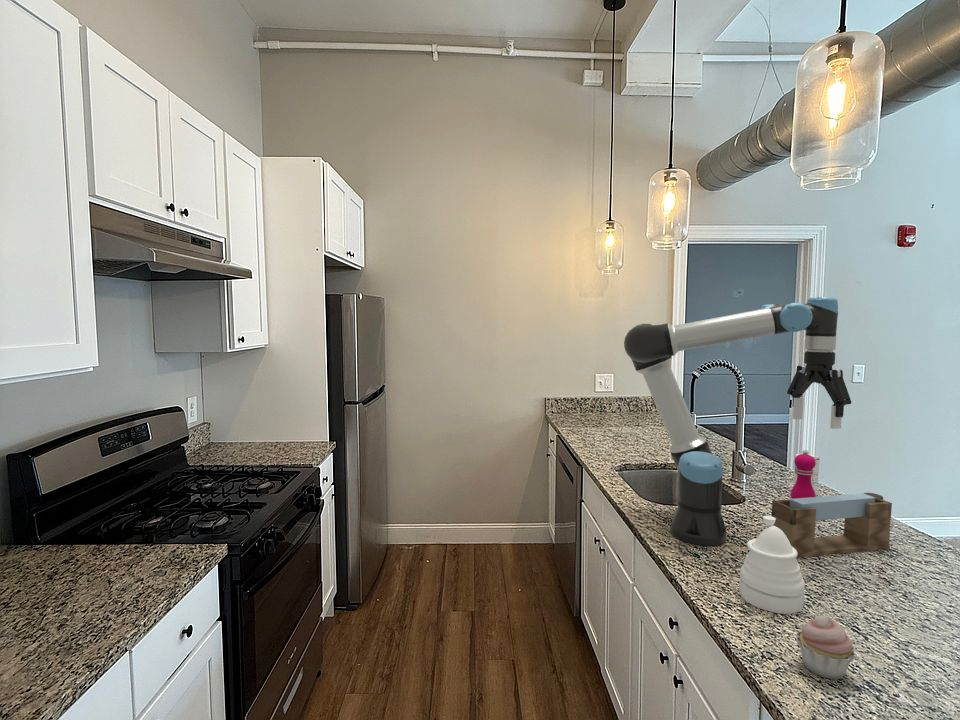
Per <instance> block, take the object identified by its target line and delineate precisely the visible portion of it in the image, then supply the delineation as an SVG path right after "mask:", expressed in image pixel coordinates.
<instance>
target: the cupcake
mask: <svg viewBox="0 0 960 720" xmlns="http://www.w3.org/2000/svg"><path fill="white" fill-rule="evenodd" d="M796 636H797V637H795V640H796V642H797V645H798V647H799V649H800V653H801V658H802V662H803V665H804V666H805V667H806V669H808V671H810V672H812V673H813V674H815V675H817V676H819V677H822V678H825V679H829V680H840V679H843V677H844V676H845V675H846V672H847V670H848V668H849V666H850V664H851V662H852V661H853V660H854V659H855V658H856V657H857V654H856V653H855V651H856V647H855V646H853V641H852V640H851V638H850V637H849V636H848V634H847V632H846V630H845V629H844V628H843V627H842V626H841V624H839V623H837V622H836V621H835V620H834V619H832V618H831V617H830V616H829V615H819V616H816V617H814V618H812V620H808V621H807V622H806V623H805V624H804V625H803V626H802V627H801V631H800V630H799V631H797V632H796Z"/></svg>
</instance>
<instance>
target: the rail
mask: <svg viewBox="0 0 960 720" xmlns="http://www.w3.org/2000/svg"><path fill="white" fill-rule="evenodd" d="M863 493H864V492H858V493H847V494H836V495H835V494H833V495H824V496H822V495H820V496H816V497H809V498H797V499H792V498H789V499H790V507H791V508H793V509H799V508H812V507H813V508H816V521H815V522H819V521H829V520H838V519H839V520H841V519H845V518H852V517H862V516H866V510H867V503H875V498H874V497H872V496H869V495H866V494H863Z"/></svg>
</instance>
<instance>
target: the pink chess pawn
mask: <svg viewBox="0 0 960 720" xmlns="http://www.w3.org/2000/svg"><path fill="white" fill-rule="evenodd" d="M800 454H803V453H802V452H801V453H796V454H795V455H794V459H795V458H796V456H798V455H800ZM808 455H810V456H812V457H813V458H814V459H815V462H816V465H815V467H814V468H813V469H812V470H813V475H812V476H811V484H812V487H813V489H814V491H815V494H816V497H818V486H819V471H820V456H817V455H813V454H808ZM793 467H794V470H793V471H794V472H793V484H792V485H793V486H794V485H795V483H796V481H797V473H796V468H797V466H796V465H795V464H794V466H793Z"/></svg>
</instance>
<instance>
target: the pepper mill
mask: <svg viewBox="0 0 960 720" xmlns="http://www.w3.org/2000/svg"><path fill="white" fill-rule="evenodd" d="M801 453H803V454H800V455H798V456H796V458H795V457H794V466H795V465H796V466H797V468H796V473H797V481H796V483H795V485H794V484H793V485H794V486H793V487H792V488H791V491H790V499H797V498H809V497H817V496H816V494H815V491H814V489H813V487H812V484H811V476H812V475H813V470H812V469H813V468H814V467H815V465H816V462H815V459H814V458H813V457H812V456H810V455H811V454H809V453H810V452H809V451H808V449H803V450H802V452H801ZM808 454H809V455H808Z"/></svg>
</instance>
